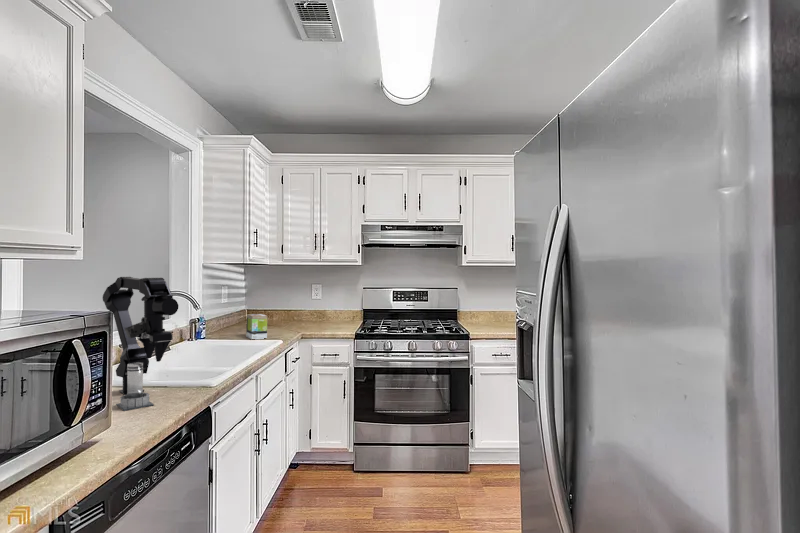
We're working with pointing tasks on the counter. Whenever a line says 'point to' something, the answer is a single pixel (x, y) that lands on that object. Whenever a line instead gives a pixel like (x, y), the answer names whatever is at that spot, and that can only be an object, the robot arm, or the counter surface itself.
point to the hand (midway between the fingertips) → (153, 359)
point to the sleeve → (134, 402)
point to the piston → (134, 380)
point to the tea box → (256, 326)
